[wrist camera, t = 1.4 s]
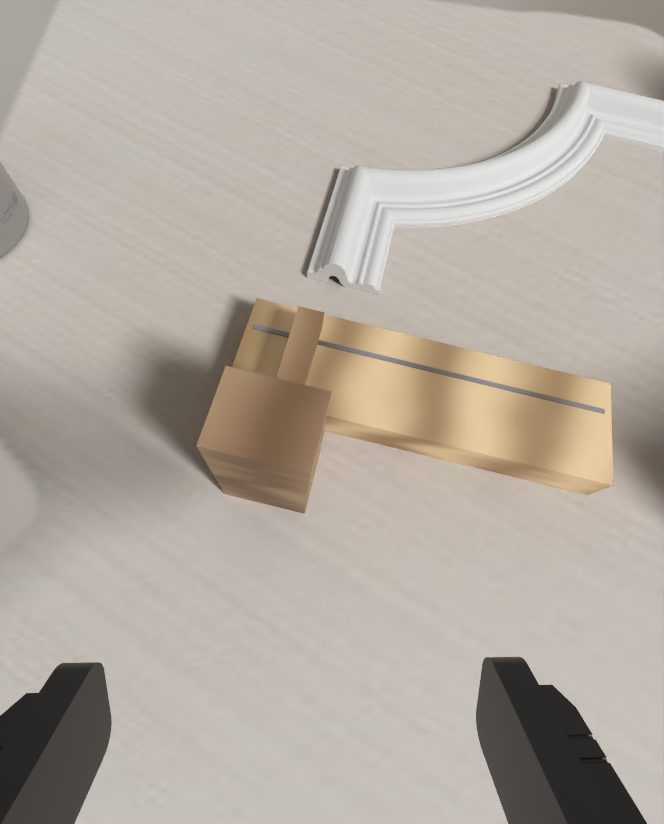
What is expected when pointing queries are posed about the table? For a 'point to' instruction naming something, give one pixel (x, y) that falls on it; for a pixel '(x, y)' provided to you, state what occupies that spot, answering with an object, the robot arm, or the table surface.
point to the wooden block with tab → (269, 425)
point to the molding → (474, 182)
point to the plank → (447, 400)
